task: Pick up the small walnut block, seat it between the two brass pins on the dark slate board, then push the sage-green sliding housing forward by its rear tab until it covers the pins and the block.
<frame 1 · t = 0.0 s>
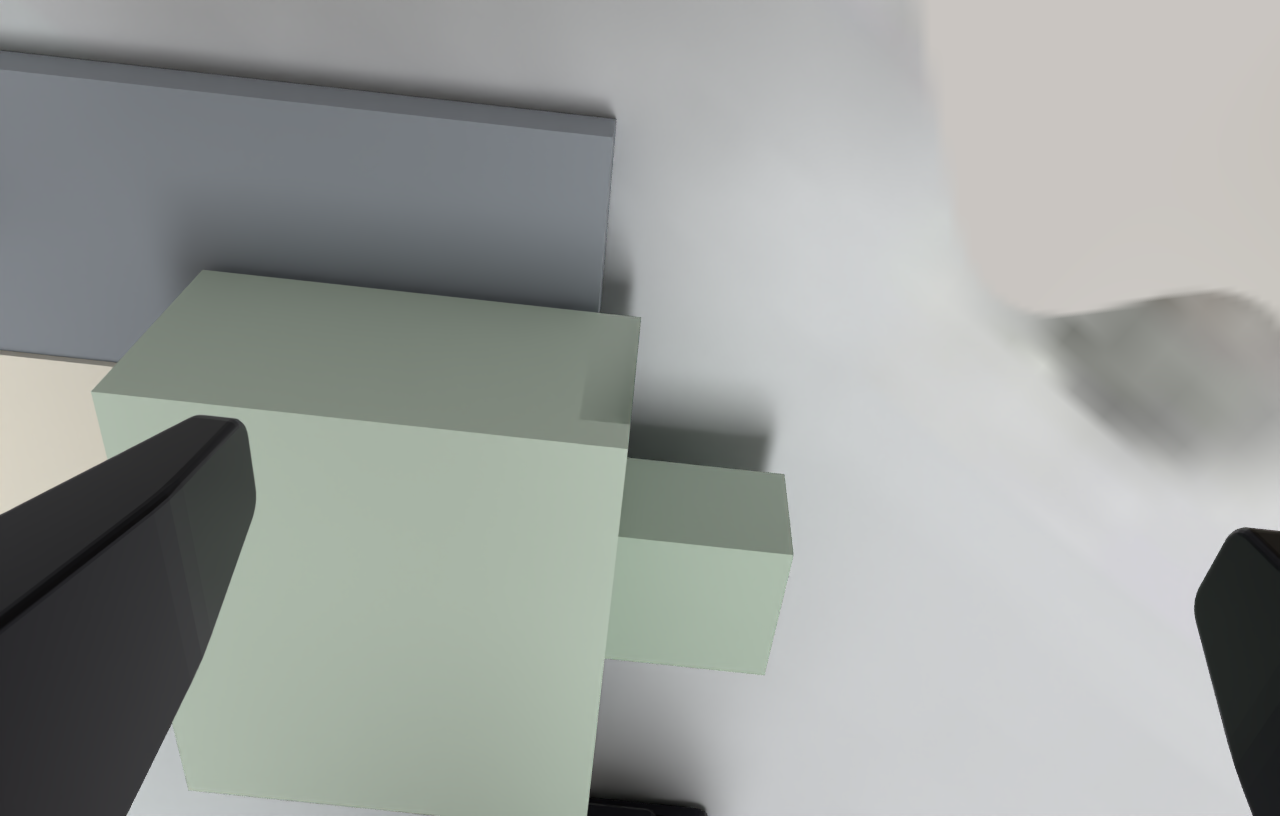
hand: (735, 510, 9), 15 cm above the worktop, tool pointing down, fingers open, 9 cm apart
board: (219, 440, 28), on the worktop
housing: (487, 573, 24), point 4 cm above the worktop, slide at 0.0 cm
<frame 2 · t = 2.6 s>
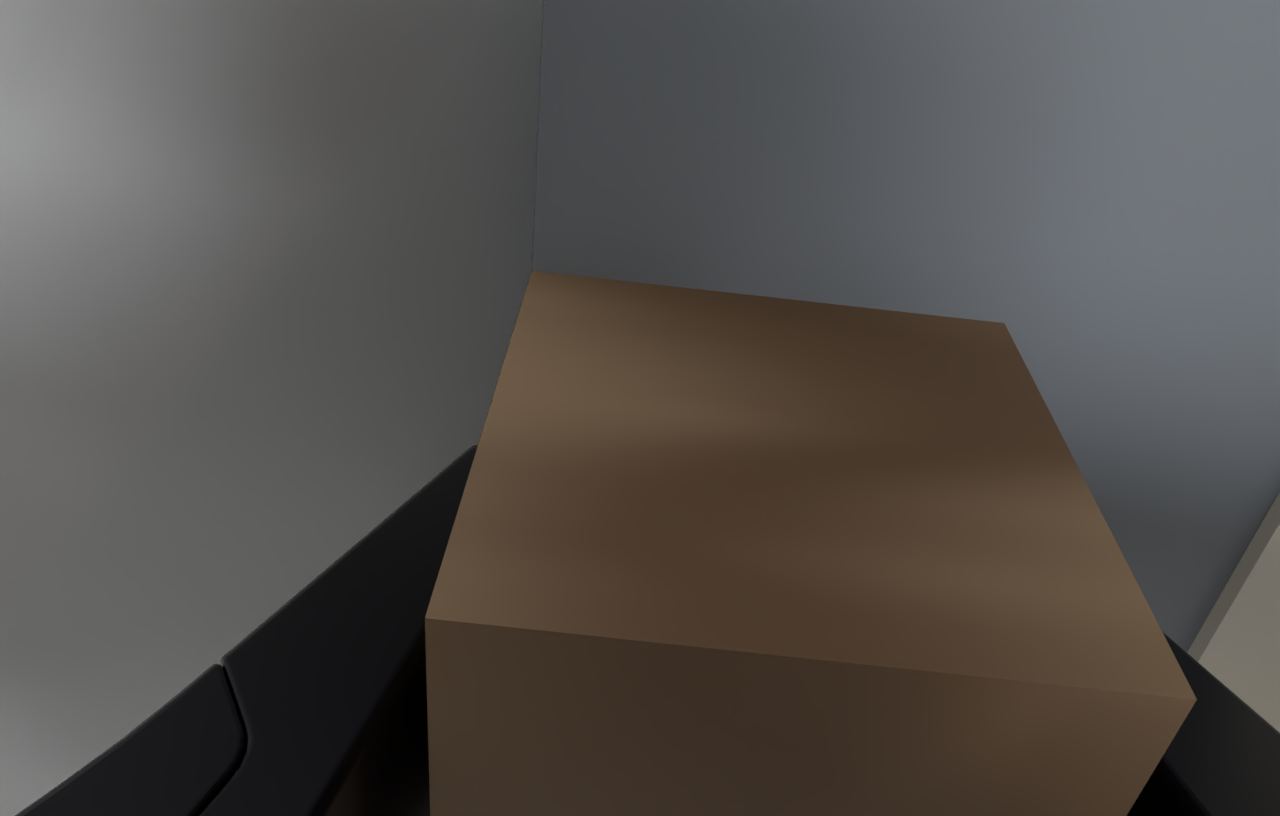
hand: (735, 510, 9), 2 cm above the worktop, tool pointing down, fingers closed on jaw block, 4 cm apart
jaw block: (733, 483, 10), point 1 cm above the worktop, touching board, gripper
when the fingers open (3 cm above the worktop, at t = 5.2 s): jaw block drops 1 cm, resting on board.
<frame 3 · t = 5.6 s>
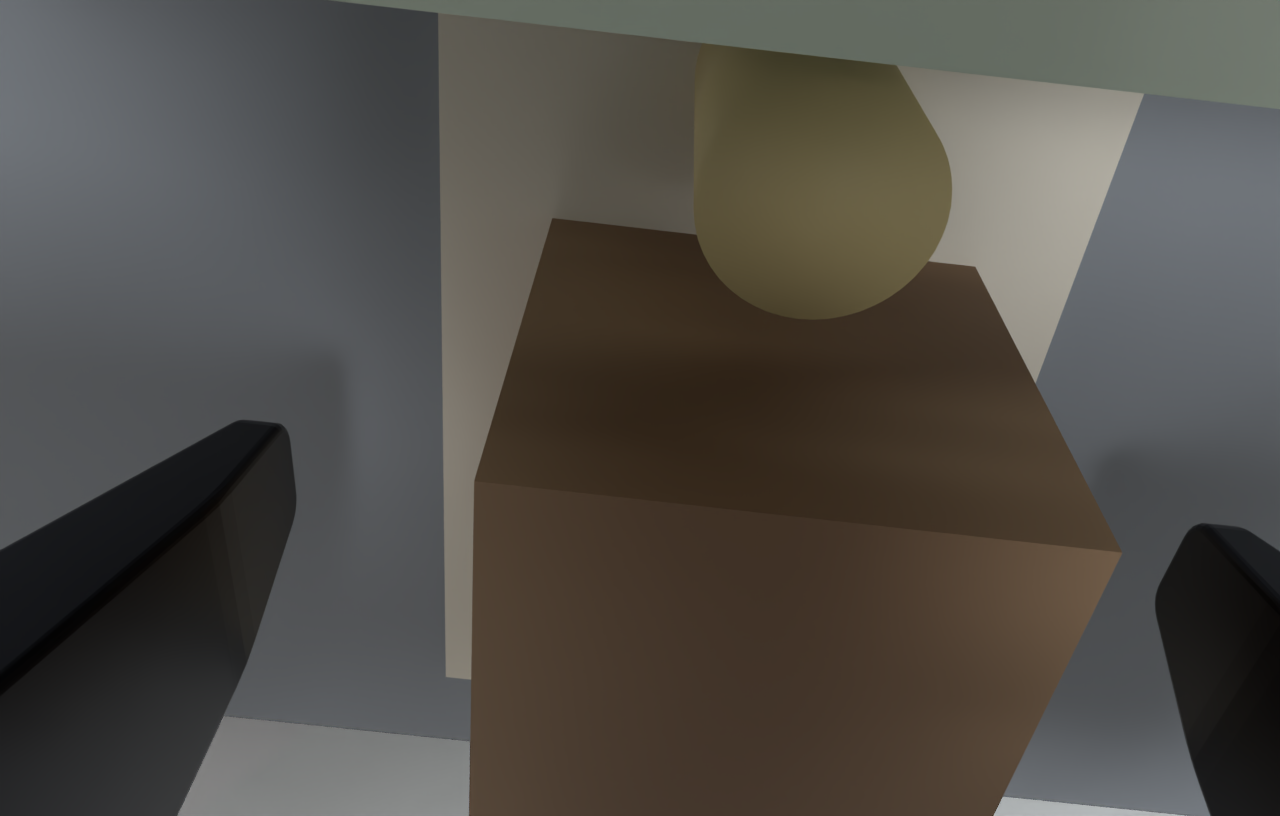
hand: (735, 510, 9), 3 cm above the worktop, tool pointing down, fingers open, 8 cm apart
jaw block: (732, 417, 11), point 1 cm above the worktop, touching board
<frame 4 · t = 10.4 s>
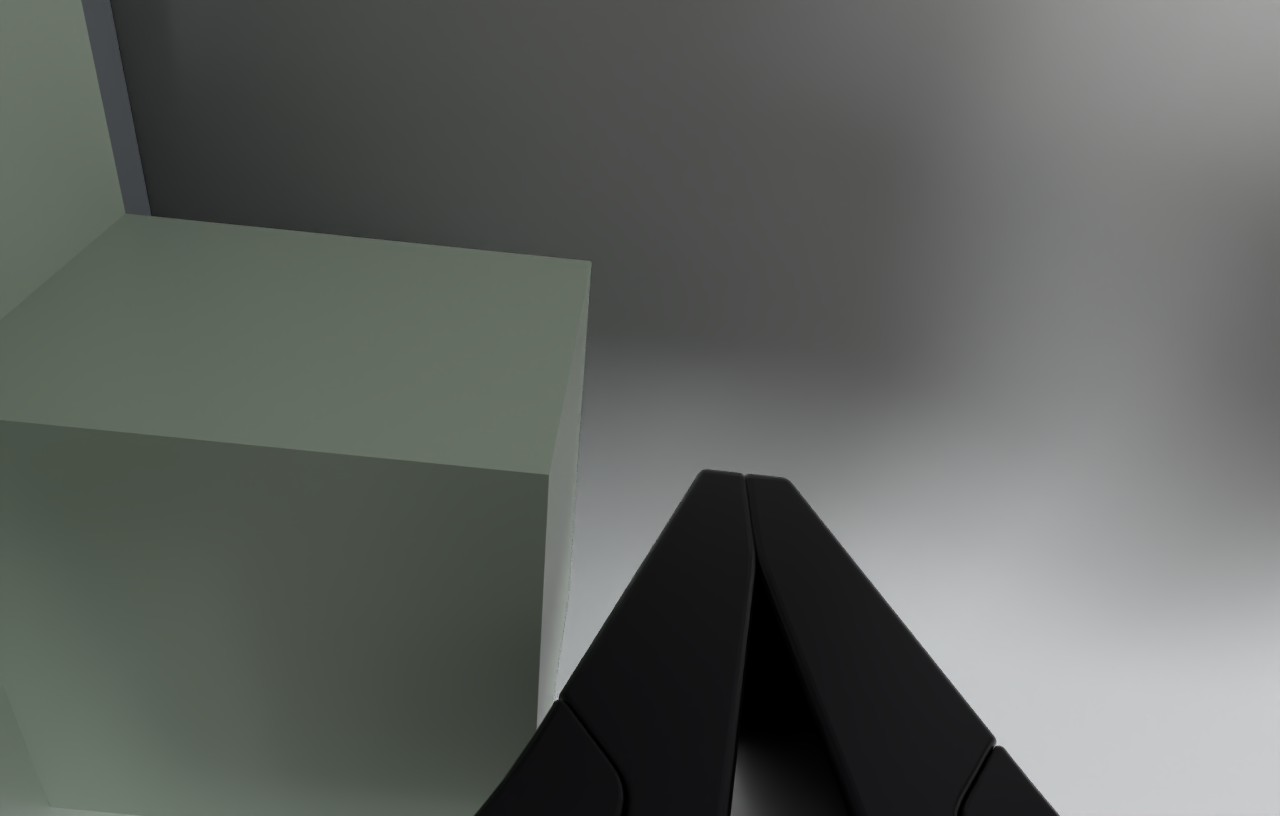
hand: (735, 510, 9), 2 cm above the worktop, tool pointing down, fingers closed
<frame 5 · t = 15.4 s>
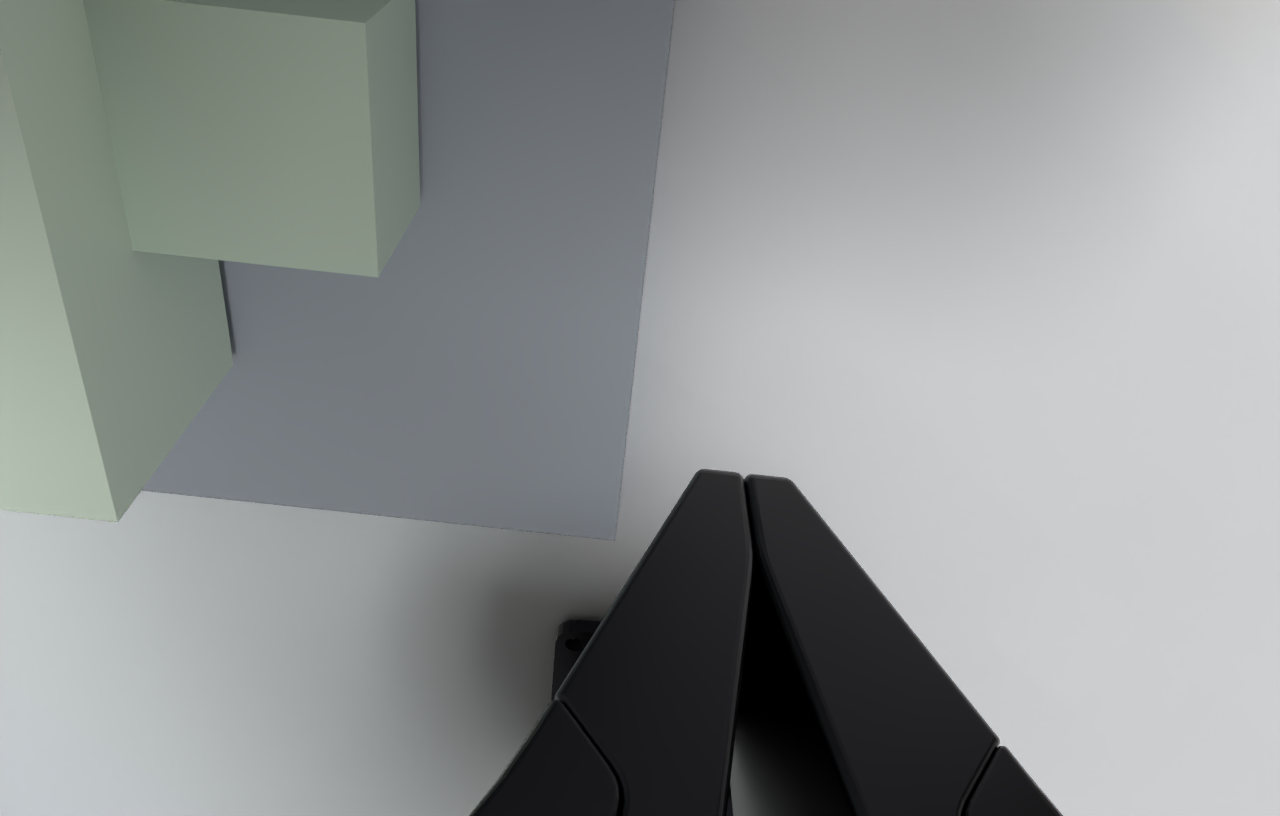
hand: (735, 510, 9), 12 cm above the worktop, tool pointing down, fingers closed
board: (134, 41, 19), on the worktop
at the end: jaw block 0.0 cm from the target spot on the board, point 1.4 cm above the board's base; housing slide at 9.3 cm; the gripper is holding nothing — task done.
